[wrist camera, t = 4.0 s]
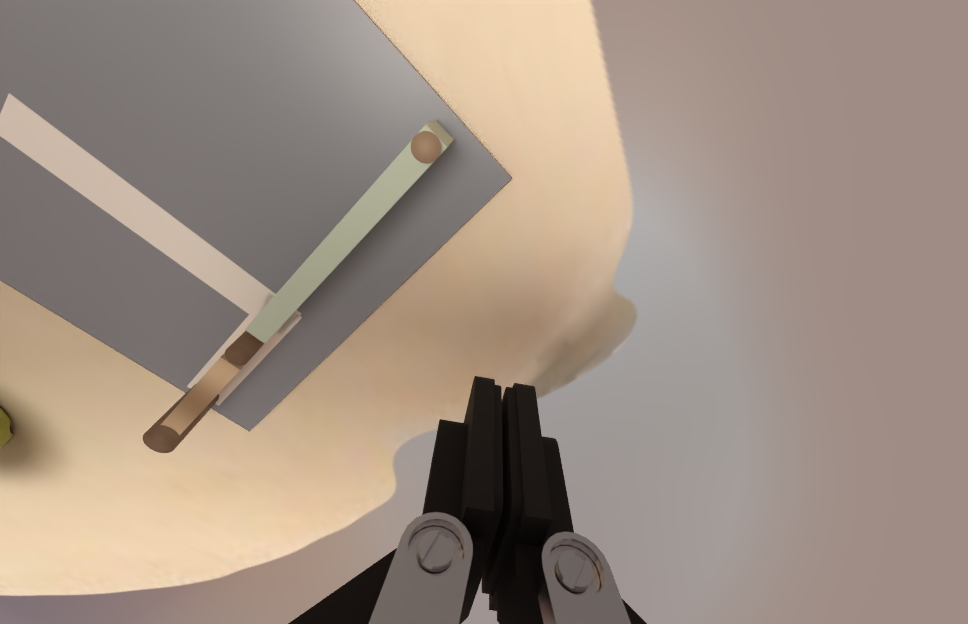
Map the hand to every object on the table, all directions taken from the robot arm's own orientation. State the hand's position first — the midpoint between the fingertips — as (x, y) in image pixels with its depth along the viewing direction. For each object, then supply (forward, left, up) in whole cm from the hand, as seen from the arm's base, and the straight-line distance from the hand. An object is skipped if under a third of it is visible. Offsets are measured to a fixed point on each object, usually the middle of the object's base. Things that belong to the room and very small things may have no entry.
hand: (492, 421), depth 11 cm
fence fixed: (-17, +6, -14) cm, 23 cm away
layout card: (-9, +13, -14) cm, 21 cm away
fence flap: (-4, +6, -13) cm, 15 cm away
